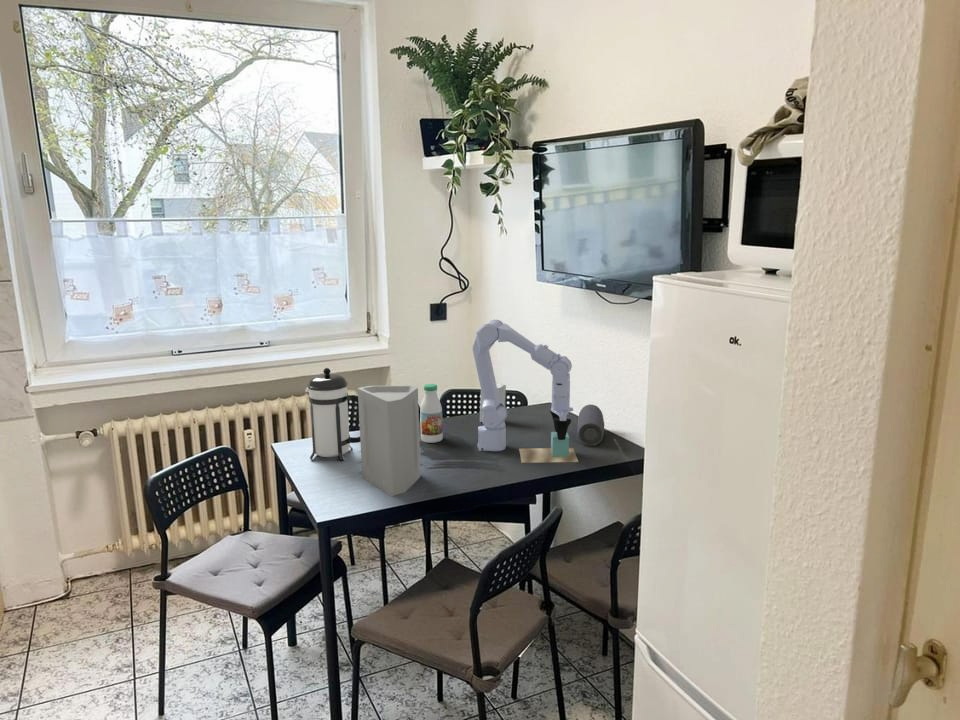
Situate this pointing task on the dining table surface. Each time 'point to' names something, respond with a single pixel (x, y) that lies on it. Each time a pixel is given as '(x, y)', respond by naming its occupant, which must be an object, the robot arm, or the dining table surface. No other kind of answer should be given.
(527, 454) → the base board
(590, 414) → the bluetooth speaker
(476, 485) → the dining table surface
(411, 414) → the hollow triangular prism
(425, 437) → the milk bottle
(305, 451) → the dining table surface
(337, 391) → the coffee press
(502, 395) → the skincare box
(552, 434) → the teal foam brick
